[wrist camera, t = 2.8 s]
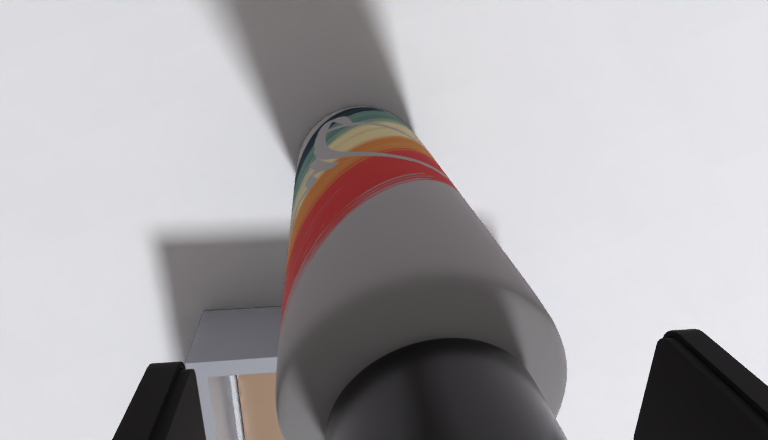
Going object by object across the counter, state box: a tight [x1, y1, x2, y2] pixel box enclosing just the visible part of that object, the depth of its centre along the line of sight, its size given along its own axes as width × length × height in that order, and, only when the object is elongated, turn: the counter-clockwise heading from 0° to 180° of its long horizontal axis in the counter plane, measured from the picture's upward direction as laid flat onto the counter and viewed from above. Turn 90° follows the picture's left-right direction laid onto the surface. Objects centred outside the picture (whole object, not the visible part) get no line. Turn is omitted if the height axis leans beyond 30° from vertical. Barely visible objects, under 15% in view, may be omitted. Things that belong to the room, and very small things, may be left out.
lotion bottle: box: [275, 106, 567, 440], centre depth 14 cm, size 6×6×20 cm
